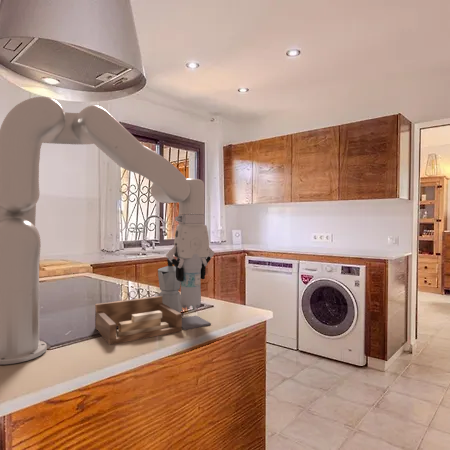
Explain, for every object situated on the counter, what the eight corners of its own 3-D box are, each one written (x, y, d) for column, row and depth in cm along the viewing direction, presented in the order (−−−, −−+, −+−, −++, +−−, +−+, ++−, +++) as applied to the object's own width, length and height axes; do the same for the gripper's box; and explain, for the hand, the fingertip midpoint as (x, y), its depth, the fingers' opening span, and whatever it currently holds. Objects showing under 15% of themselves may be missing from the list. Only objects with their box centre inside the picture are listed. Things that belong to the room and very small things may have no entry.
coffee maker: (175, 318, 112) (175, 262, 111) (149, 316, 114) (149, 260, 113) (190, 306, 126) (191, 256, 126) (167, 304, 128) (167, 255, 128)
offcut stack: (119, 340, 92) (119, 318, 92) (116, 337, 94) (116, 316, 94) (168, 331, 100) (169, 311, 100) (165, 328, 102) (165, 309, 102)
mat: (183, 329, 101) (183, 327, 101) (170, 321, 109) (170, 319, 109) (210, 324, 106) (210, 322, 106) (196, 317, 114) (196, 315, 114)
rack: (109, 344, 89) (109, 317, 89) (95, 328, 102) (95, 303, 101) (181, 331, 100) (181, 306, 100) (160, 317, 113) (160, 295, 112)
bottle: (198, 311, 103) (198, 242, 103) (176, 309, 105) (176, 242, 104) (204, 305, 110) (204, 241, 109) (183, 304, 111) (184, 240, 111)
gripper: (170, 220, 98) (169, 284, 99) (222, 220, 108) (221, 279, 109) (159, 220, 105) (159, 280, 105) (209, 220, 114) (209, 275, 115)
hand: (190, 279), depth 107 cm, fingers closed on bottle, 6 cm apart
